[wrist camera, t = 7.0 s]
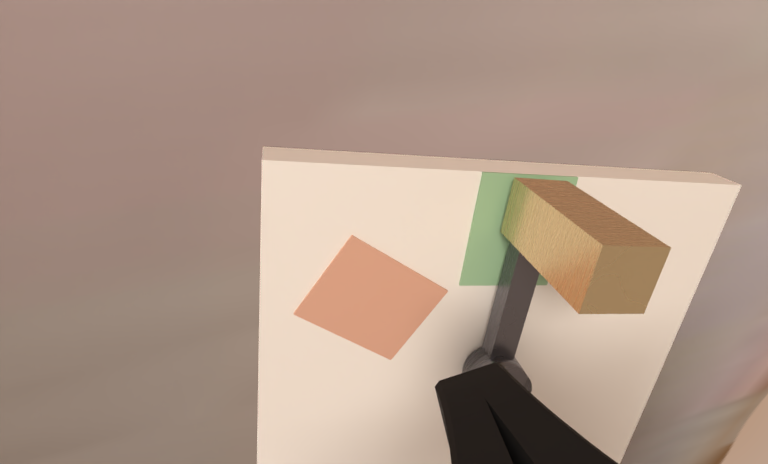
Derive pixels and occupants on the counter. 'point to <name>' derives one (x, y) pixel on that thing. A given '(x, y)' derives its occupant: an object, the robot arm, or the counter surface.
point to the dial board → (446, 299)
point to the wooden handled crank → (565, 263)
